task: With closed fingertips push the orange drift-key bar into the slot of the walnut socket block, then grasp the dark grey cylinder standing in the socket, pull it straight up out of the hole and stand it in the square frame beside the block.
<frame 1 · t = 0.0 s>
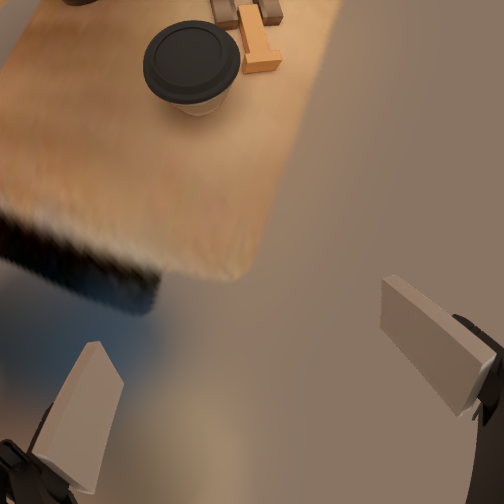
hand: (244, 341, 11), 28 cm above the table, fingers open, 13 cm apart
coffee cup: (199, 93, 32), on the table
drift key: (254, 35, 28), point 2 cm above the table, slide at 0.0 cm
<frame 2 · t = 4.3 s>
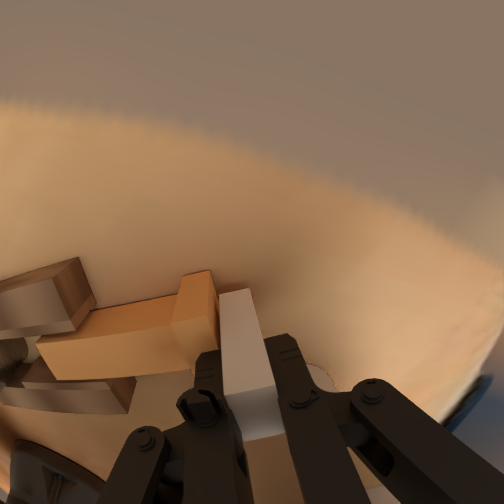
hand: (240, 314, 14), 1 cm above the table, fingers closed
coffee cup: (284, 395, 18), on the table
dark grey cylinder: (11, 339, 14), resting in socket block
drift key: (122, 347, 12), point 2 cm above the table, slide at 0.9 cm, touching gripper
socket block: (32, 337, 14), on the table
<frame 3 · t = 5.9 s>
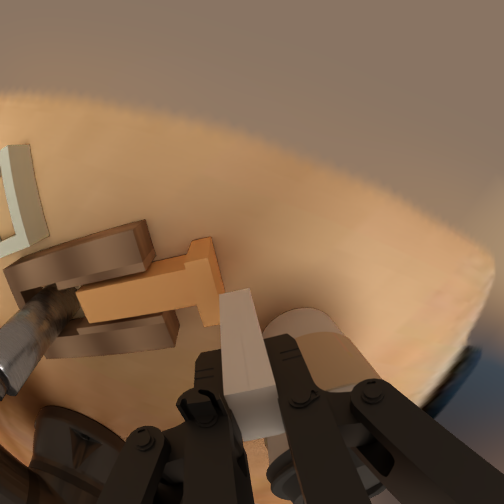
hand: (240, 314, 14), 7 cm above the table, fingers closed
coffee cup: (297, 339, 24), on the table
square frame: (9, 203, 17), on the table
dark grey cylinder: (63, 296, 20), resting in socket block
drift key: (145, 292, 18), point 2 cm above the table, slide at 3.5 cm
socket block: (88, 291, 20), on the table
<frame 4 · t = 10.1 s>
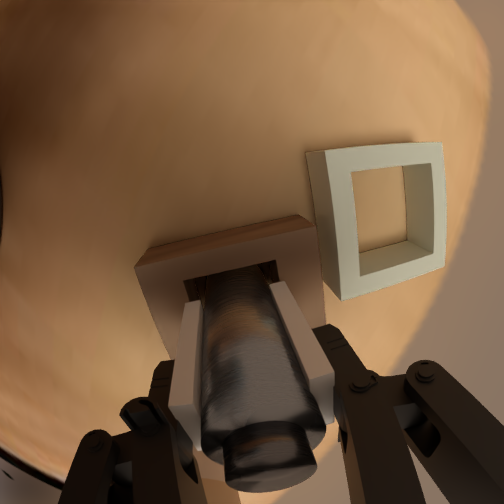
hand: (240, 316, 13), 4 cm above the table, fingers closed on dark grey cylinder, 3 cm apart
coffee cup: (198, 458, 23), on the table
square frame: (372, 207, 16), on the table
dark grey cylinder: (235, 285, 17), resting in socket block, touching gripper
socket block: (245, 326, 18), on the table
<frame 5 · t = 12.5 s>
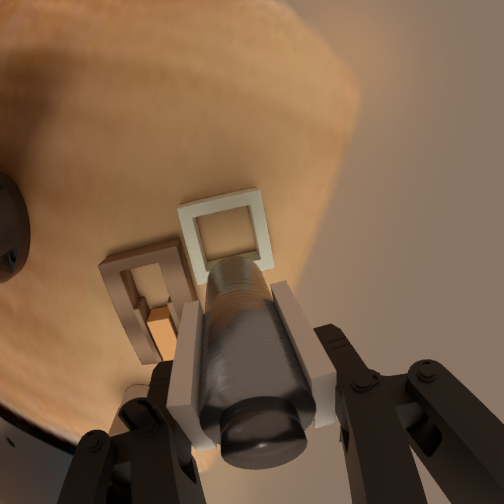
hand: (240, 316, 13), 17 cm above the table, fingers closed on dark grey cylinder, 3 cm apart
coffee cup: (147, 398, 36), on the table
square frame: (226, 231, 30), on the table
dark grey cylinder: (235, 282, 18), point 13 cm above the table, touching gripper
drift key: (173, 352, 31), point 2 cm above the table, slide at 3.5 cm
socket block: (159, 299, 31), on the table
when the fingers open (6 cm above the table, at t = 14.7 s): dark grey cylinder drops 1 cm, resting in square frame.
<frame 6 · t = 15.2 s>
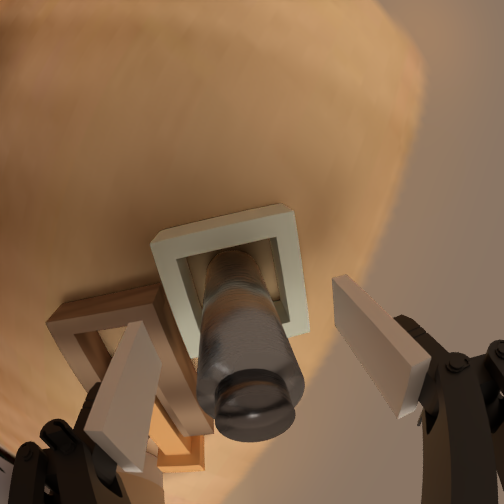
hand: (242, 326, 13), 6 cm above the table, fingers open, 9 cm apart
coffee cup: (136, 458, 25), on the table
square frame: (233, 273, 19), on the table
dark grey cylinder: (233, 275, 19), resting in square frame
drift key: (163, 428, 20), point 2 cm above the table, slide at 3.5 cm
socket block: (138, 362, 20), on the table
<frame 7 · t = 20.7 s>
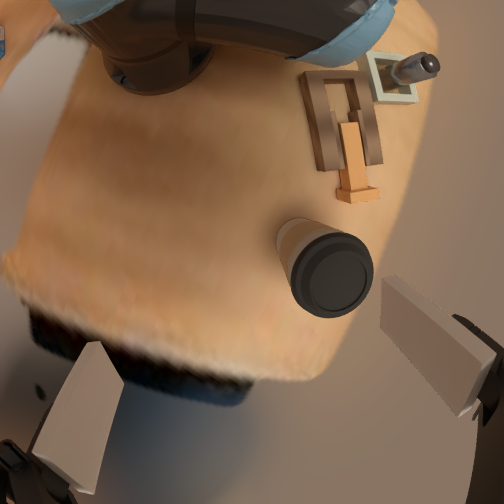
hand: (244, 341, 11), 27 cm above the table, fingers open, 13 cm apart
coffee cup: (299, 241, 39), on the table
square frame: (383, 80, 33), on the table
dark grey cylinder: (383, 81, 33), resting in square frame
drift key: (353, 161, 34), point 2 cm above the table, slide at 3.5 cm
socket block: (337, 118, 34), on the table
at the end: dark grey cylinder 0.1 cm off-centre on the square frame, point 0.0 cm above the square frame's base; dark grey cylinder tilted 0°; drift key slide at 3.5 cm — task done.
